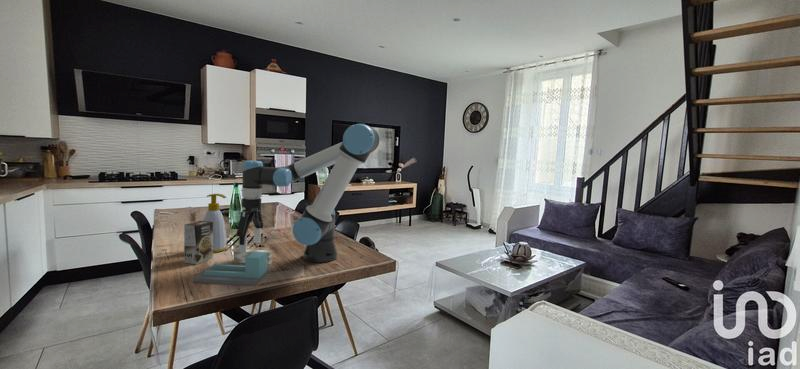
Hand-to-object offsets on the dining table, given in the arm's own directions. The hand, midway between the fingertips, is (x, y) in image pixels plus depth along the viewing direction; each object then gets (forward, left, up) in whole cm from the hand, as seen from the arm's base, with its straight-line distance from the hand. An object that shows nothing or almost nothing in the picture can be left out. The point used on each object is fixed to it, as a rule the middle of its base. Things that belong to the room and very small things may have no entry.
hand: (250, 247), depth 144 cm
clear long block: (-1, 0, -7) cm, 7 cm away
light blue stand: (-1, +17, -6) cm, 18 cm away
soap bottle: (+23, -13, -7) cm, 27 cm away
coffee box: (+21, +2, -7) cm, 22 cm away
